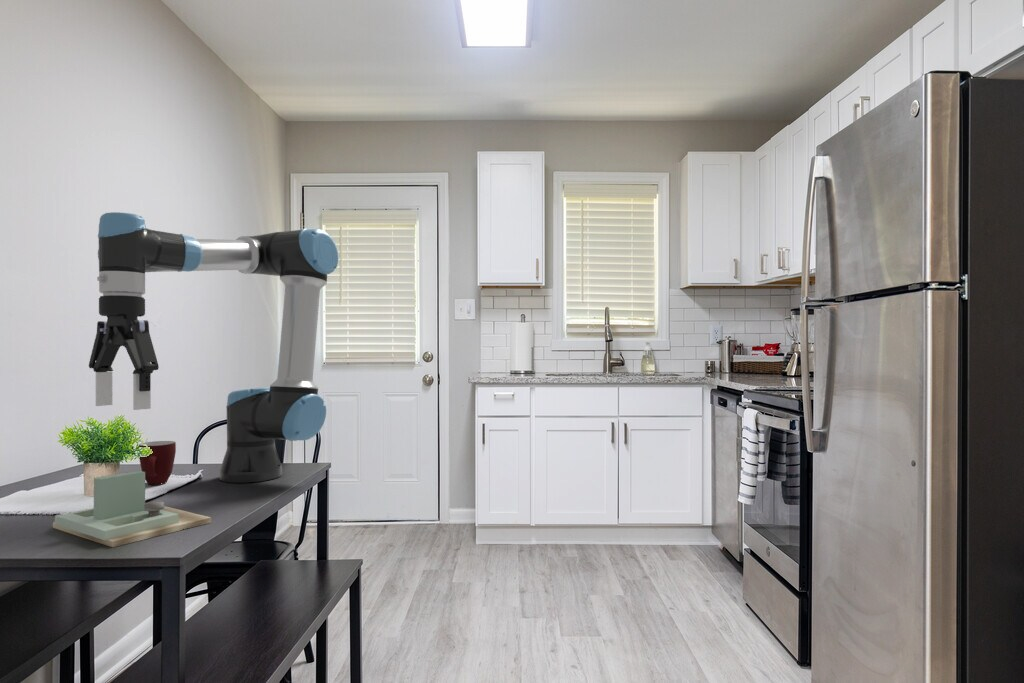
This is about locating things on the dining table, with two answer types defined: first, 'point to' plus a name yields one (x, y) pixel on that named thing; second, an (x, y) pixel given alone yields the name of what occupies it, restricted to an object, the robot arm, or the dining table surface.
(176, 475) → the dining table surface
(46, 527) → the dining table surface
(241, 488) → the dining table surface
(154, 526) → the panel
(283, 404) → the robot arm
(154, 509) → the boss board
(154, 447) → the mug
